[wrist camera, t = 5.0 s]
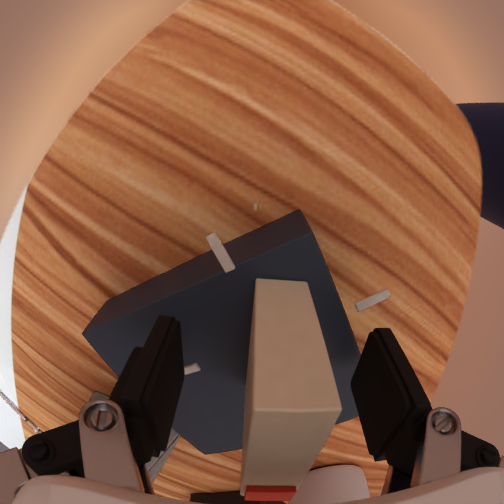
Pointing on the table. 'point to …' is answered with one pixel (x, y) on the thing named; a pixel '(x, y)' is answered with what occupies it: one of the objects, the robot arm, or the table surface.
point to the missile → (20, 413)
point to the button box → (226, 499)
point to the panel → (228, 324)
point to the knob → (285, 392)
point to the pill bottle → (332, 486)
